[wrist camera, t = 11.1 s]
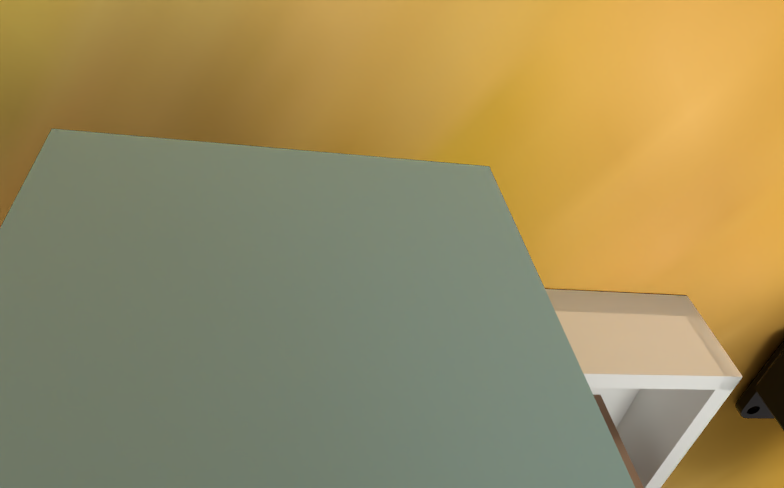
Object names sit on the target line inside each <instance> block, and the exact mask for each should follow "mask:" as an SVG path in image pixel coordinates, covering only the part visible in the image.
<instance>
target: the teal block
mask: <svg viewBox="0 0 784 488" xmlns="http://www.w3.org/2000/svg"><path fill="white" fill-rule="evenodd" d="M0 488H635V486H634V484H633V481H632V479H631V477H630V475H629V473H628V470H627V468H626V466H625V464H624V462H623V459H622V457H621V455H620V453H619V451H618V448H617V446H616V444H615V442H614V440H613V437H612V435H611V433H610V431H609V429H608V426H607V424H606V422H605V420H604V418H603V415H602V413H601V411H600V409H599V407H598V404H597V402H596V400H595V398H594V396H593V394H592V391H591V389H590V387H589V385H588V383H587V380H586V378H585V376H584V374H583V372H582V369H581V367H580V365H579V363H578V361H577V358H576V356H575V354H574V352H573V350H572V347H571V345H570V343H569V341H568V339H567V336H566V334H565V332H564V330H563V328H562V325H561V323H560V321H559V319H558V317H557V314H556V312H555V310H554V308H553V306H552V303H551V301H550V299H549V297H548V295H547V292H546V290H545V288H544V286H543V284H542V281H541V279H540V277H539V275H538V273H537V270H536V268H535V266H534V264H533V262H532V259H531V257H530V255H529V253H528V251H527V248H526V246H525V244H524V242H523V240H522V237H521V235H520V233H519V231H518V229H517V227H516V224H515V222H514V220H513V218H512V216H511V213H510V211H509V209H508V207H507V205H506V202H505V200H504V198H503V196H502V194H501V191H500V189H499V187H498V185H497V183H496V180H495V178H494V176H493V174H492V172H491V169H490V167H489V166H478V165H467V164H455V163H444V162H432V161H421V160H409V159H398V158H386V157H374V156H363V155H351V154H340V153H328V152H317V151H305V150H294V149H282V148H271V147H259V146H247V145H236V144H224V143H213V142H201V141H190V140H178V139H167V138H155V137H143V136H132V135H120V134H109V133H97V132H86V131H74V130H63V129H51V131H50V133H49V135H48V137H47V139H46V141H45V143H44V145H43V147H42V149H41V151H40V153H39V154H38V156H37V158H36V160H35V162H34V164H33V166H32V168H31V170H30V172H29V174H28V176H27V177H26V179H25V181H24V183H23V185H22V187H21V189H20V191H19V193H18V195H17V197H16V199H15V201H14V202H13V204H12V206H11V208H10V210H9V212H8V214H7V216H6V218H5V220H4V222H3V224H2V225H1V227H0Z"/></svg>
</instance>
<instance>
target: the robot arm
mask: <svg viewBox="0 0 784 488" xmlns="http://www.w3.org/2000/svg"><path fill="white" fill-rule="evenodd" d="M736 409H737V410H738V412H739V413H740V415H741V416H742V417H743V418H775V419H776V420H777V422H778V423H779V425H780V426H781V428H782V429H783V431H784V341H783V342H782V343H781V345H780V346H779V347H778V349H777V350H776V351H775V353H774V354H773V355H772V357H771V358H770V359H769V360H768V362H767V363H766V364H765V366H764V367H763V368H762V370H761V371H760V372H759V374H758V375H757V376H756V378H755V379H754V380H753V382H752V383H751V384H750V385H749V387H748V388H747V389H746V391H745V392H744V393H743V395H742V396H741V397H740V399H739V400H738V401H737V403H736Z"/></svg>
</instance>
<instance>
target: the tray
mask: <svg viewBox="0 0 784 488" xmlns="http://www.w3.org/2000/svg"><path fill="white" fill-rule="evenodd" d="M545 290H546V292H547V295H548V297H549V299H550V301H551V303H552V306H553V308H554V310H555V312H556V314H557V317H558V319H559V321H560V323H561V325H562V328H563V330H564V332H565V334H566V336H567V339H568V341H569V343H570V345H571V347H572V350H573V352H574V354H575V356H576V358H577V361H578V363H579V365H580V367H581V369H582V372H583V374H584V376H585V378H586V380H587V383H588V385H589V387H590V389H591V391H592V394H593V395H601V397H602V399H603V401H604V403H605V405H606V408H607V410H608V412H609V414H610V416H611V418H612V420H613V423H614V425H615V427H616V429H617V431H618V433H619V436H620V438H621V440H622V442H623V444H624V446H625V448H626V451H627V453H628V455H629V457H630V459H631V461H632V464H633V466H634V468H635V470H636V472H637V474H638V476H639V479H640V481H641V483H642V485H643V487H644V488H661V486H662V485H663V484H664V482H665V481H666V480H667V478H668V477H669V476H670V474H671V473H672V472H673V470H674V469H675V467H676V466H677V465H678V463H679V462H680V461H681V459H682V458H683V457H684V455H685V454H686V453H687V451H688V450H689V449H690V447H691V446H692V445H693V443H694V442H695V441H696V439H697V438H698V436H699V435H700V434H701V432H702V431H703V430H704V428H705V427H706V426H707V424H708V423H709V422H710V420H711V419H712V418H713V416H714V415H715V414H716V412H717V411H718V410H719V408H720V407H721V405H722V404H723V403H724V401H725V400H726V399H727V397H728V396H729V395H730V393H731V392H732V391H733V389H734V388H735V387H736V385H737V384H738V383H739V381H740V380H741V379H742V377H743V376H742V375H741V373H740V372H739V371H738V369H737V368H736V366H735V365H734V363H733V362H732V360H731V359H730V357H729V356H728V354H727V353H726V352H725V350H724V349H723V347H722V346H721V344H720V343H719V341H718V340H717V338H716V337H715V336H714V334H713V333H712V331H711V330H710V328H709V327H708V325H707V324H706V322H705V321H704V320H703V318H702V317H701V315H700V314H699V312H698V311H697V309H696V308H695V306H694V305H693V304H692V302H691V301H690V299H689V298H688V296H683V295H662V294H641V293H620V292H599V291H579V290H558V289H545Z"/></svg>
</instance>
